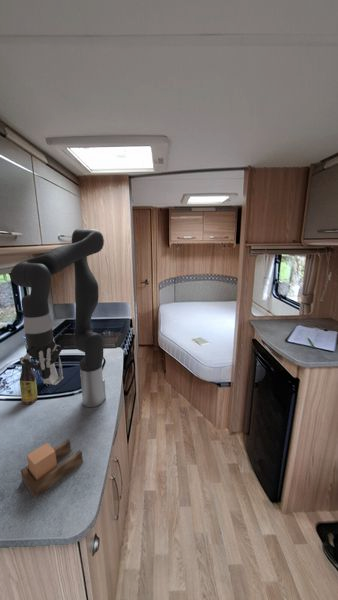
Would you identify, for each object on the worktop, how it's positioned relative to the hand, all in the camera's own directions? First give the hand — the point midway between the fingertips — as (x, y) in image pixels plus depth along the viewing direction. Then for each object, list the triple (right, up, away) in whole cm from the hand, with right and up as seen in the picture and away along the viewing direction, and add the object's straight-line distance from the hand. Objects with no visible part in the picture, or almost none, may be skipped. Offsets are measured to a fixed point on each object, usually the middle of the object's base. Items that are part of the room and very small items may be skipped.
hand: (45, 377), depth 80 cm
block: (+2, -29, -5) cm, 29 cm away
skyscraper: (-20, -17, +47) cm, 53 cm away
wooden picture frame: (+4, -29, -2) cm, 29 cm away
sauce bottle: (-22, -20, +31) cm, 43 cm away
